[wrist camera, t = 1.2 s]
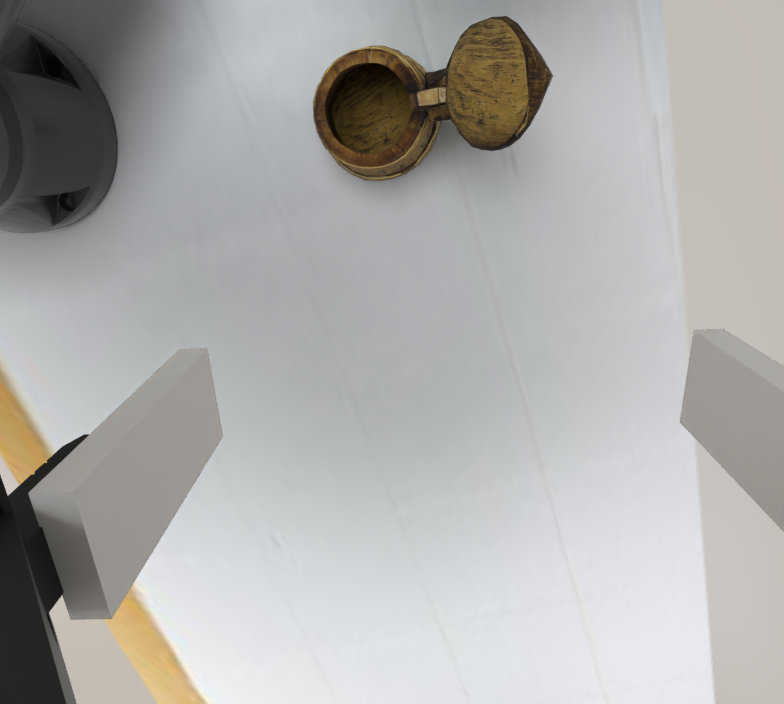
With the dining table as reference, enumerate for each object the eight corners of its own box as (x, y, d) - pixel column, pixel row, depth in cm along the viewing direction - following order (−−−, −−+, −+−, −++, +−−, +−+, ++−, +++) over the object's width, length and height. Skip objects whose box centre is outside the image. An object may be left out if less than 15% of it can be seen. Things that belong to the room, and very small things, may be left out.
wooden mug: (502, 164, 43) (557, 179, 26) (330, 186, 44) (278, 214, 28) (495, 35, 40) (553, -42, 23) (311, 62, 41) (238, 7, 24)
